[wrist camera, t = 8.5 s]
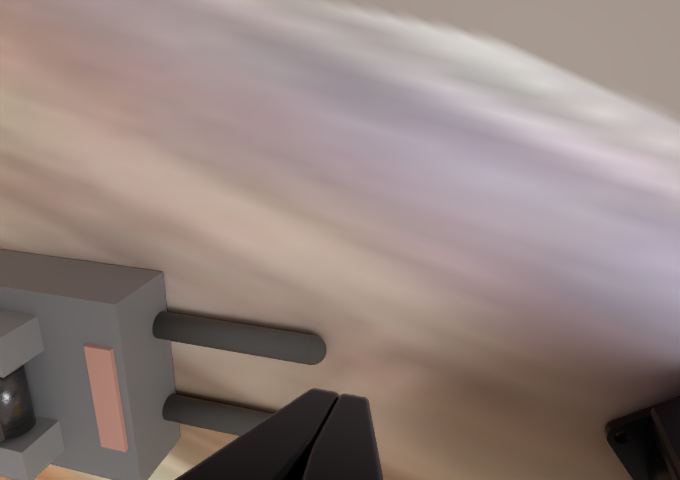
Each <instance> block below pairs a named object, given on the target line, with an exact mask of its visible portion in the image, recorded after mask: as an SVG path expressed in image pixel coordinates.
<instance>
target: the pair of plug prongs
mask: <svg viewBox="0 0 680 480" xmlns="http://www.w3.org/2000/svg"><path fill="white" fill-rule="evenodd" d="M152 332H153V335H154V337H155V338H157V339H163V340H169V341H175V342H181V343H186V344H192V345H198V346H204V347H210V348H215V349H221V350H227V351H233V352H239V353H244V354H250V355H256V356H262V357H268V358H273V359H279V360H285V361H291V362H297V363H302V364H308V365H315V364H318V363H319V362H321V361H322V360H323V359H324V357H325V355H326V344H325V342H324V341H323V340H322V339H321V338H320V337H318V336H316V335H310V334H304V333H297V332H291V331H285V330H279V329H272V328H266V327H260V326H253V325H247V324H241V323H234V322H228V321H222V320H215V319H209V318H203V317H196V316H190V315H184V314H177V313H171V312H165V311H161V312H159V313H158V314H157V316H156V317H155V319H154V322H153V326H152ZM271 415H273V414H272V413H267V412H262V411H257V410H252V409H247V408H242V407H237V406H232V405H227V404H222V403H217V402H212V401H207V400H202V399H197V398H192V397H186V396H181V395H176V394H171V395H169V396H168V397H167V399H166V401H165V403H164V406H163V410H162V416H163V419H164V420H167V421H172V422H177V423H181V424H186V425H191V426H196V427H200V428H205V429H210V430H214V431H219V432H224V433H228V434H233V435H238V436H241V435H243V434H244V433H246V432H247V431H249V430H250V429H252V428H253V427H255V426H256V425H258V424H259V423H261V422H262V421H264V420H265V419H267V418H268V417H270V416H271Z"/></svg>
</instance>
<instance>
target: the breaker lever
mask: <svg viewBox="0 0 680 480" xmlns="http://www.w3.org/2000/svg"><path fill="white" fill-rule="evenodd" d="M35 423H36V418H35V413H34V409H33V404H32V400H31V395H30V391H29V386H28V382H27V378H26V373H25V369H24V364H23V365H22V366H20V367H19V368H17V369H16V370H14V371H13V372H11V373H10V374H8V375H7V376H5V377H4V378H2V377H0V442H1V441H4V440H9V439H13V438H16V437H19V436H21V435H23V434H25V433H27V432H28V431H30V430H31V429H32V428H33V427H34V425H35Z"/></svg>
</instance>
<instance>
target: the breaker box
mask: <svg viewBox="0 0 680 480" xmlns="http://www.w3.org/2000/svg"><path fill="white" fill-rule="evenodd" d="M161 311H165V312H167V305H166V295H165V286H164V276H163V272H161V271H154V270H146V269H139V268H132V267H125V266H117V265H110V264H103V263H96V262H89V261H81V260H74V259H67V258H60V257H53V256H45V255H38V254H31V253H24V252H16V251H9V250H2V249H0V377H2V378H4V377H5V376H7V375H8V374H10V373H11V372H13V371H14V370H16V369H17V368H19V367H20V366H22V365H23V364H24V369H25V373H26V378H27V382H28V386H29V391H30V395H31V400H32V404H33V409H34V413H35V418H36V423H35V425H34V427H33V428H32V429H31V430H30V431H28V432H27V433H25V434H23V435H21V436H19V437H16V438H13V439H9V440H4V441H1V442H0V476H3V477H7V478H10V479H14V480H33V479H35V478H36V477H37V476H38V475H39V474H40V473H41V472H42V471H43V470H44V469H45V468H46V467H47V466H48V465H49V464H52V465H56V466H60V467H64V468H68V469H72V470H76V471H80V472H84V473H88V474H92V475H96V476H100V477H104V478H108V479H112V480H148V478H149V477H150V476H151V474H152V473H153V472H154V471H155V469H156V468H157V467H158V466H159V464H160V463H161V462H162V460H163V459H164V458H165V457H166V455H167V454H168V453H169V452H170V450H171V449H172V448H173V446H174V445H175V444H176V443H177V441H178V440H179V439H180V428H179V423H177V422H172V421H167V420H164V419H163V416H162V410H163V406H164V403H165V401H166V399H167V397H168V396H169V395H171V394H176V390H175V380H174V371H173V361H172V352H171V343H170V341H169V340H163V339H157V338H155V337H154V335H153V332H152V326H153V322H154V319H155V317H156V316H157V314H158V313H159V312H161Z"/></svg>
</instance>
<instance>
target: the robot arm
mask: <svg viewBox="0 0 680 480" xmlns="http://www.w3.org/2000/svg"><path fill="white" fill-rule="evenodd" d="M604 432H605V435H606V438H607V441H608V443H609V444H610V446H611V447H612V449H613V450H614V452H615V453H616V455H617V456H618V458H619V459H620V461H621V462H622V464H623V465H624V467H625V468H626V470H627V471H628V473H629V474H630V476H631V477H632V479H633V480H680V397H677V398H674V399H671V400H669V401H666V402H663V403H660V404H657V405H655V406H652V407H649V408H646V409H644V410H641V411H638V412H635V413H632V414H630V415H627V416H624V417H621V418H618V419H616V420H613V421H611V422H609V423H608V424H607V425H606V426H605V430H604ZM620 432H623V433H626V434H625V435H623V436H615V434H617V433H620ZM175 480H383V475H382V470H381V464H380V459H379V454H378V448H377V443H376V438H375V432H374V427H373V422H372V416H371V411H370V405H369V401H368V399H367V398H365V397H360V396H355V395H349V394H342V395H340V396H339V395H338V393H337V392H333V391H327V390H322V389H315V388H314V389H310V390H309V391H307V392H306V393H304V394H303V395H301V396H300V397H298V398H297V399H295V400H294V401H292V402H291V403H289V404H288V405H286V406H285V407H283V408H282V409H280V410H279V411H277V412H276V413H274V414H273V415H271V416H270V417H268V418H267V419H265V420H264V421H262V422H261V423H259V424H258V425H256V426H255V427H253V428H252V429H250V430H249V431H247V432H246V433H244V434H243V435H241V436H240V437H238V438H237V439H235V440H234V441H232V442H231V443H229V444H228V445H226V446H225V447H223V448H222V449H220V450H219V451H217V452H216V453H214V454H213V455H211V456H210V457H208V458H207V459H205V460H204V461H202V462H201V463H199V464H198V465H196V466H195V467H193V468H192V469H190V470H189V471H187V472H186V473H184V474H183V475H181V476H180V477H178V478H177V479H175Z"/></svg>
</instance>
